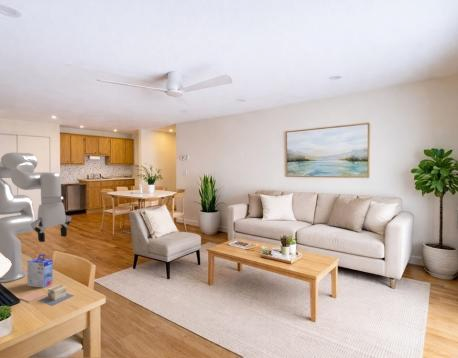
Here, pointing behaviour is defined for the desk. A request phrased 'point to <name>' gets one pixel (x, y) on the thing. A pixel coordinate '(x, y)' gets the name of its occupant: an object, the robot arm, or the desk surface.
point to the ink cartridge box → (40, 272)
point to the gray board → (54, 302)
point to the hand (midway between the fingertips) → (53, 238)
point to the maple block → (56, 292)
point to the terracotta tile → (32, 296)
